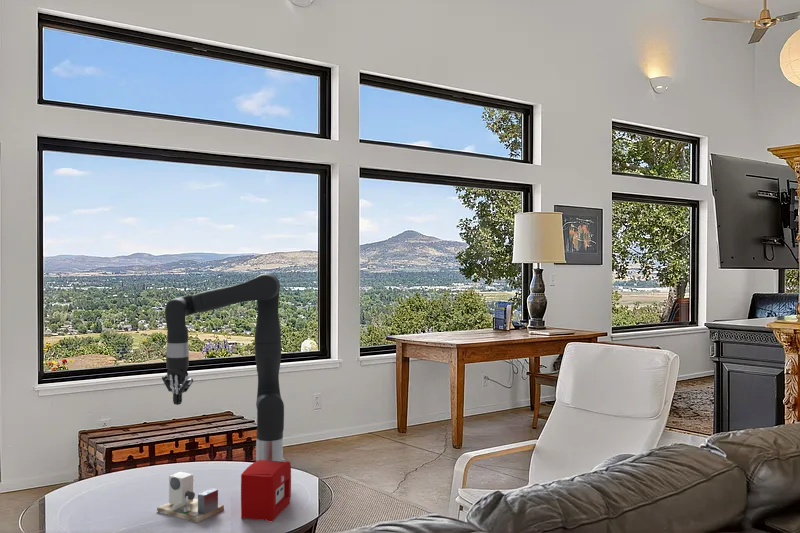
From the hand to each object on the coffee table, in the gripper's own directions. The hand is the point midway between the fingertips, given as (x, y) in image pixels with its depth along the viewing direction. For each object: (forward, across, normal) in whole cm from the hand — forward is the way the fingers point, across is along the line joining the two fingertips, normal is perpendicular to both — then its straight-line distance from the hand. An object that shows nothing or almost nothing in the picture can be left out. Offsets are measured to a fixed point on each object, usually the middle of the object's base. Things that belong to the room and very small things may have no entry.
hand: (177, 404), depth 262 cm
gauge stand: (+29, -21, +16) cm, 39 cm away
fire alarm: (+29, -42, +3) cm, 51 cm away
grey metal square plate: (+28, -28, +16) cm, 42 cm away
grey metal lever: (+27, -24, +20) cm, 41 cm away
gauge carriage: (+27, -18, +17) cm, 37 cm away
